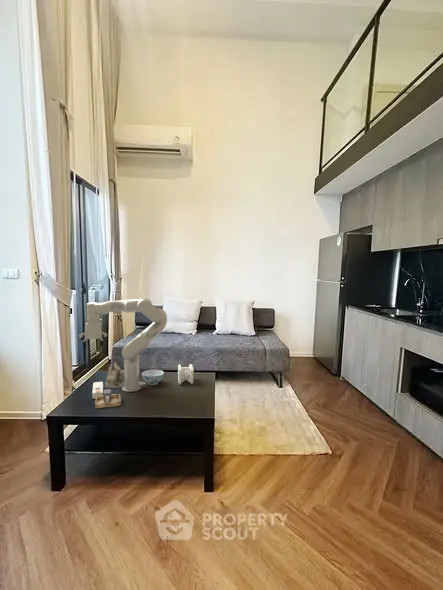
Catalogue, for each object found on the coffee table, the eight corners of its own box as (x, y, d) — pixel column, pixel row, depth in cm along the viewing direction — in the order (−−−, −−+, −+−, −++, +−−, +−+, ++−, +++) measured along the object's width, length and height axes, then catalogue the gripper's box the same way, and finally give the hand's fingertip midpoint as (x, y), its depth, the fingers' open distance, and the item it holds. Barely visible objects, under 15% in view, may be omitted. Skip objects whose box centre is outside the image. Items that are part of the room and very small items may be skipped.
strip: (102, 386, 213) (102, 381, 213) (102, 397, 195) (102, 391, 194) (93, 387, 211) (93, 381, 211) (92, 398, 193) (92, 392, 192)
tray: (119, 397, 195) (119, 393, 195) (120, 405, 184) (120, 401, 184) (95, 400, 191) (95, 396, 190) (95, 408, 179) (95, 404, 179)
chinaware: (145, 379, 230) (145, 369, 229) (165, 380, 229) (165, 370, 229) (139, 386, 215) (139, 375, 214) (160, 387, 214) (161, 376, 214)
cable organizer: (177, 378, 234) (178, 363, 233) (192, 378, 236) (192, 363, 235) (178, 385, 219) (178, 369, 218) (193, 385, 221) (194, 369, 220)
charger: (111, 404, 184) (110, 398, 192) (111, 394, 184) (110, 389, 192) (103, 405, 183) (103, 399, 191) (103, 395, 182) (103, 389, 190)
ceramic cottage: (100, 386, 213) (102, 364, 212) (116, 380, 229) (118, 359, 228) (120, 391, 208) (122, 369, 207) (134, 384, 223) (136, 363, 223)
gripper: (107, 320, 212) (107, 345, 213) (79, 320, 206) (79, 346, 207) (107, 321, 205) (107, 347, 206) (78, 322, 199) (78, 349, 200)
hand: (93, 347), depth 207 cm, fingers open, 9 cm apart
